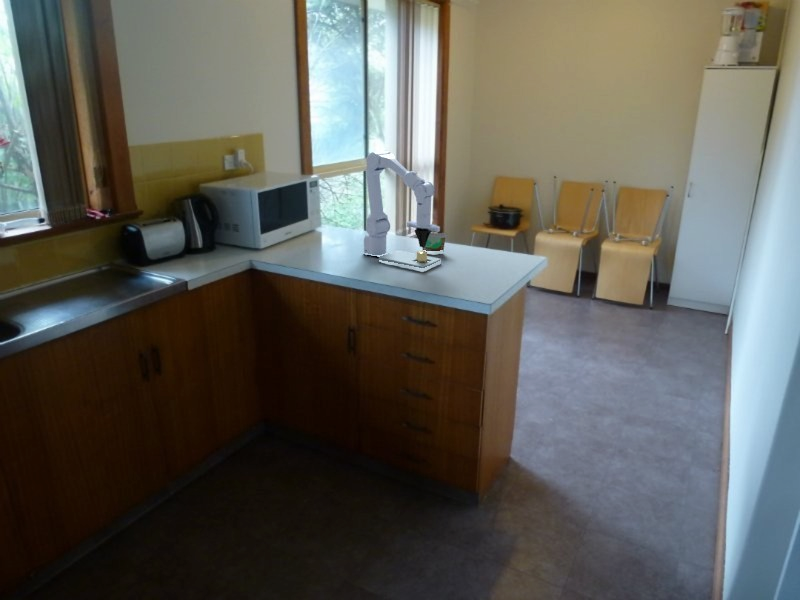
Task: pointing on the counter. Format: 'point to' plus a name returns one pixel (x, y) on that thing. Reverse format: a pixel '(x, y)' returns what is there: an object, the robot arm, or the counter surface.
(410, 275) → the counter surface
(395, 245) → the counter surface
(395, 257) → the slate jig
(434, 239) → the food container
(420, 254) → the gold metal cylinder
